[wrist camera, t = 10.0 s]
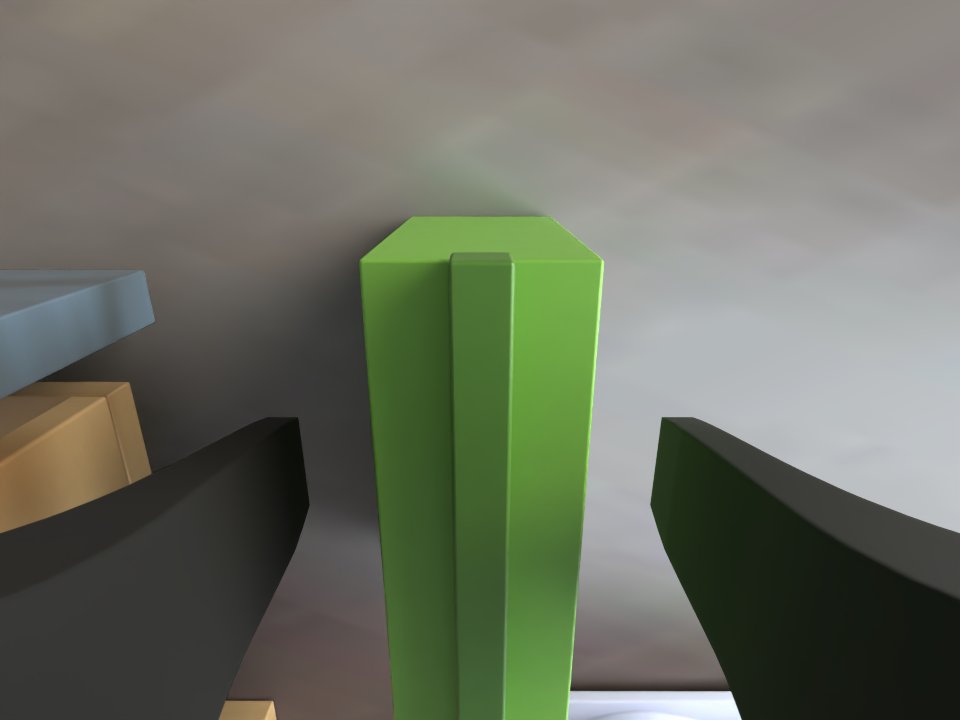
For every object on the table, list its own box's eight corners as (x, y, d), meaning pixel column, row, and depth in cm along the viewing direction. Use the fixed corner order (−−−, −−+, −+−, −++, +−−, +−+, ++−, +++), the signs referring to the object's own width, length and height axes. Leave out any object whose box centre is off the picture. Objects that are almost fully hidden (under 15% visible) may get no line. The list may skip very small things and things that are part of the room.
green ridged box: (551, 212, 12) (619, 261, 6) (536, 545, 15) (572, 785, 9) (410, 211, 12) (343, 261, 6) (424, 545, 15) (389, 785, 9)
